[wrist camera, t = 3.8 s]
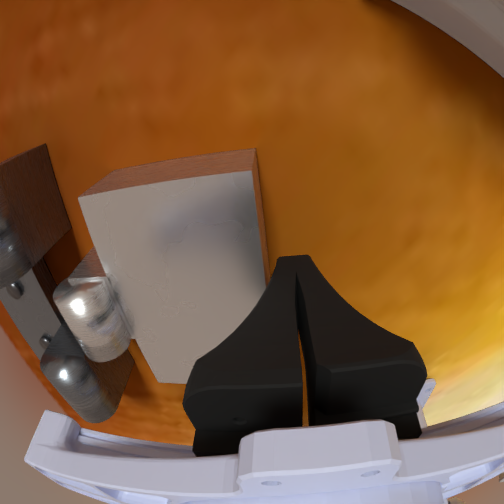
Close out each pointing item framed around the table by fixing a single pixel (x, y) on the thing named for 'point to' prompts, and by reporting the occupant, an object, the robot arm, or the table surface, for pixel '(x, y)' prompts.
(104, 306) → the grey boxy piece
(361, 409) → the robot arm
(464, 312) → the table surface
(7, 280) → the fixed leaf
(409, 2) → the grey rounded slab
